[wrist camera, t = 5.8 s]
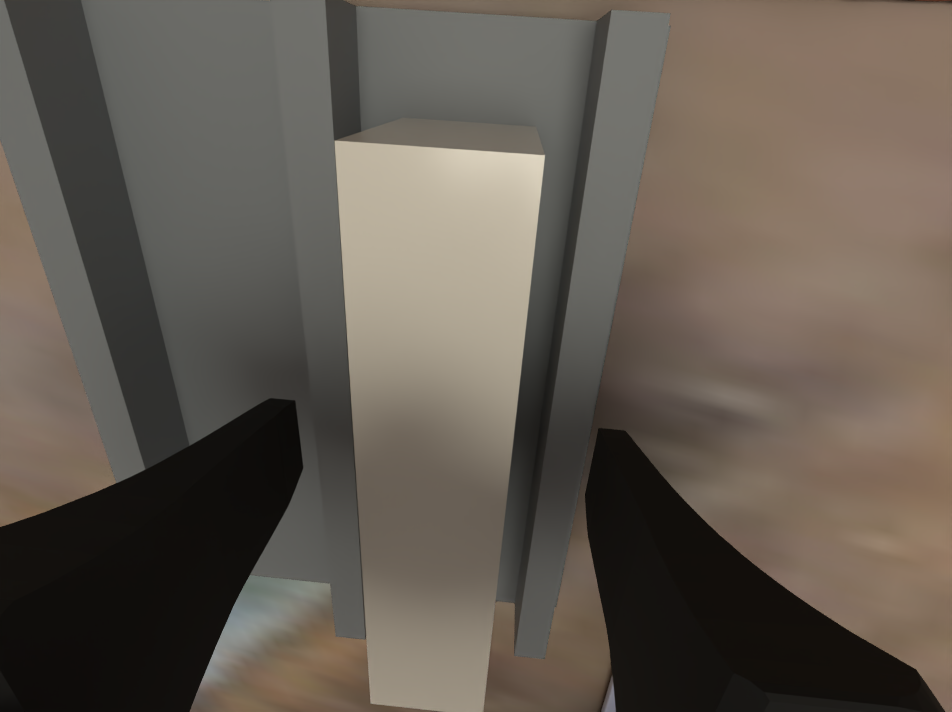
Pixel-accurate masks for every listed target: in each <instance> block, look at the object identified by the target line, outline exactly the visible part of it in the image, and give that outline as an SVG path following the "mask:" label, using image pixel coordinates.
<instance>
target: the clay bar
mask: <svg viewBox="0 0 952 712" xmlns="http://www.w3.org/2000/svg"><path fill="white" fill-rule="evenodd" d="M335 156H336V172H337V188H338V203H339V219H340V234H341V250H342V265H343V281H344V296H345V312H346V328H347V343H348V359H349V374H350V390H351V405H352V421H353V437H354V452H355V468H356V483H357V499H358V514H359V530H360V545H361V561H362V577H363V592H364V608H365V623H366V639H367V654H368V670H369V686H370V701H371V704H379V705H388V706H397V707H406V708H415V709H424V710H433V711H442V712H483V708H484V699H485V691H486V682H487V673H488V664H489V655H490V646H491V637H492V628H493V619H494V610H495V601H496V592H497V583H498V574H499V565H500V556H501V547H502V538H503V529H504V520H505V511H506V502H507V493H508V484H509V475H510V466H511V457H512V448H513V439H514V430H515V421H516V412H517V403H518V394H519V385H520V376H521V367H522V358H523V349H524V340H525V331H526V322H527V313H528V304H529V295H530V286H531V277H532V268H533V259H534V250H535V241H536V232H537V223H538V214H539V205H540V196H541V187H542V178H543V169H544V160H545V154H544V150H543V147H542V144H541V141H540V138H539V135H538V131H537V128H536V127H534V126H519V125H504V124H490V123H475V122H460V121H445V120H431V119H416V118H401V119H398V120H395V121H392V122H389V123H386V124H383V125H380V126H377V127H374V128H371V129H368V130H365V131H362V132H359V133H356V134H353V135H350V136H347V137H344V138H341V139H338V140H335Z"/></svg>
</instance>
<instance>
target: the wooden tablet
mask: <svg viewBox="0 0 952 712" xmlns="http://www.w3.org/2000/svg"><path fill="white" fill-rule="evenodd" d="M917 1H952V0H917Z"/></svg>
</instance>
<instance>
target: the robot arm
mask: <svg viewBox="0 0 952 712" xmlns="http://www.w3.org/2000/svg"><path fill="white" fill-rule="evenodd" d="M302 470H303V460H302V452H301V443H300V435H299V427H298V419H297V410H296V402H295V400H286V399H275V398H270V399H268V400H266V401H264V402H262V403H260V404H258V405H257V406H255V407H253V408H252V409H250V410H248V411H247V412H245V413H243V414H242V415H240V416H238V417H237V418H235V419H234V420H232V421H230V422H229V423H227V424H225V425H224V426H222V427H220V428H219V429H217V430H215V431H214V432H212V433H210V434H209V435H207V436H205V437H204V438H202V439H200V440H199V441H197V442H195V443H193V444H192V445H190V446H188V447H186V448H184V449H183V450H181V451H179V452H177V453H175V454H174V455H172V456H170V457H168V458H166V459H164V460H163V461H161V462H159V463H157V464H155V465H153V466H151V467H149V468H147V469H145V470H143V471H141V472H139V473H137V474H135V475H133V476H131V477H129V478H127V479H125V480H122V481H120V482H118V483H116V484H114V485H111V486H109V487H107V488H105V489H102V490H100V491H98V492H95V493H93V494H90V495H88V496H85V497H82V498H80V499H77V500H75V501H72V502H70V503H67V504H65V505H62V506H59V507H57V508H54V509H52V510H49V511H47V512H44V513H41V514H38V515H35V516H32V517H29V518H26V519H24V520H21V521H18V522H15V523H12V524H9V525H5V526H2V527H0V712H189V711H190V709H191V706H192V704H193V701H194V698H195V696H196V693H197V691H198V688H199V686H200V683H201V681H202V678H203V676H204V674H205V671H206V669H207V666H208V664H209V661H210V659H211V657H212V654H213V652H214V649H215V647H216V645H217V642H218V640H219V638H220V635H221V633H222V631H223V629H224V626H225V624H226V622H227V619H228V617H229V615H230V613H231V610H232V608H233V606H234V604H235V602H236V600H237V598H238V596H239V594H240V592H241V590H242V588H243V586H244V584H245V583H246V581H247V579H248V577H249V576H250V574H251V572H252V570H253V568H254V567H255V565H256V563H257V561H258V560H259V558H260V556H261V554H262V553H263V551H264V549H265V547H266V545H267V544H268V542H269V540H270V538H271V537H272V535H273V533H274V531H275V530H276V528H277V526H278V524H279V522H280V520H281V519H282V517H283V515H284V513H285V511H286V510H287V508H288V506H289V504H290V501H291V499H292V496H293V494H294V492H295V489H296V486H297V484H298V481H299V478H300V476H301V473H302ZM585 503H586V518H587V530H588V538H589V543H590V548H591V553H592V558H593V563H594V568H595V573H596V578H597V583H598V588H599V593H600V598H601V603H602V608H603V613H604V617H605V622H606V628H607V634H608V640H609V647H610V657H611V666H612V677H611V680H610V684H609V687H608V690H607V694H606V697H605V700H604V704H603V707H602V710H601V712H945V711H944V709H943V708H942V706H941V705H940V703H939V702H938V700H937V699H936V697H935V696H934V694H933V693H932V691H931V690H930V689H929V687H928V686H927V684H926V683H925V681H924V680H923V678H922V677H921V676H920V674H919V673H918V672H917V670H916V669H914V668H912V667H911V666H909V665H907V664H905V663H904V662H902V661H900V660H899V659H897V658H895V657H893V656H892V655H890V654H888V653H886V652H885V651H883V650H881V649H879V648H878V647H876V646H874V645H873V644H871V643H869V642H867V641H866V640H864V639H862V638H860V637H859V636H857V635H855V634H853V633H852V632H850V631H849V630H847V629H845V628H844V627H842V626H841V625H839V624H838V623H836V622H834V621H833V620H831V619H830V618H828V617H827V616H825V615H824V614H822V613H821V612H819V611H818V610H816V609H815V608H813V607H811V606H810V605H809V604H807V603H806V602H804V601H803V600H801V599H800V598H798V597H797V596H796V595H794V594H793V593H791V592H790V591H788V590H787V589H786V588H784V587H783V586H782V585H780V584H779V583H778V582H776V581H775V580H774V579H772V578H771V577H770V576H768V575H767V574H766V573H764V572H763V571H762V570H760V569H759V568H758V567H757V566H755V565H754V564H753V563H752V562H750V561H749V560H748V559H747V558H745V557H744V556H743V555H742V554H741V553H740V552H738V551H737V550H736V549H735V548H734V547H733V546H731V545H730V544H729V543H728V542H727V541H726V540H725V539H723V538H722V537H721V536H720V535H719V534H718V533H717V532H716V531H715V530H713V529H712V528H711V527H710V526H709V525H708V524H707V523H706V522H705V521H704V520H703V519H702V518H701V517H700V516H699V515H698V514H697V513H696V512H695V511H694V510H693V509H692V508H691V507H690V506H689V505H688V504H687V503H686V502H685V501H684V500H683V498H682V497H681V496H680V495H679V494H678V493H677V492H676V491H675V490H674V489H673V488H672V486H671V485H670V484H669V483H668V482H667V481H666V480H665V478H664V477H663V476H662V475H661V474H660V473H659V471H658V470H657V469H656V468H655V467H654V465H653V464H652V463H651V462H650V461H649V459H648V458H647V457H646V456H645V454H644V453H643V452H642V451H641V449H640V448H639V447H638V446H637V444H636V443H635V442H634V441H633V440H632V438H631V437H630V436H629V435H628V433H627V432H626V431H624V430H613V429H602V428H599V429H598V434H597V439H596V444H595V449H594V454H593V459H592V464H591V468H590V473H589V478H588V483H587V488H586V493H585Z"/></svg>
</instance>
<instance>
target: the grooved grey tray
mask: <svg viewBox="0 0 952 712" xmlns="http://www.w3.org/2000/svg"><path fill="white" fill-rule="evenodd" d="M670 14H671V13H655V12H638V11H622V10H611V11H609V12H608V13H607V14H606V15H604V16H603V17H602V18H600V19H599V20H598V21H587V20H571V19H555V18H539V17H523V16H507V15H491V14H474V13H458V12H442V11H426V10H410V9H394V8H378V7H362V6H355V5H352V4H350V3H348V2H345V1H343V0H270V1H265V0H0V141H1V143H2V146H3V149H4V152H5V155H6V158H7V161H8V164H9V167H10V170H11V173H12V176H13V179H14V182H15V185H16V188H17V191H18V194H19V197H20V200H21V203H22V205H23V208H24V211H25V214H26V217H27V220H28V223H29V226H30V229H31V232H32V235H33V238H34V241H35V244H36V247H37V250H38V253H39V256H40V259H41V262H42V265H43V267H44V270H45V273H46V276H47V279H48V282H49V285H50V288H51V291H52V294H53V297H54V300H55V303H56V306H57V309H58V312H59V315H60V318H61V321H62V324H63V327H64V329H65V332H66V335H67V338H68V341H69V344H70V347H71V350H72V353H73V356H74V359H75V362H76V365H77V368H78V371H79V374H80V377H81V380H82V383H83V386H84V389H85V391H86V394H87V397H88V400H89V403H90V406H91V409H92V412H93V415H94V418H95V421H96V424H97V427H98V430H99V433H100V436H101V439H102V442H103V445H104V448H105V451H106V453H107V456H108V459H109V462H110V465H111V468H112V471H113V474H114V477H115V480H116V483H118V482H120V481H122V480H125V479H127V478H129V477H131V476H133V475H135V474H137V473H139V472H141V471H143V470H145V469H147V468H149V467H151V466H153V465H155V464H157V463H159V462H161V461H163V460H164V459H166V458H168V457H170V456H172V455H174V454H175V453H177V452H179V451H181V450H183V449H184V448H186V447H188V446H190V445H192V444H193V443H195V442H197V441H199V440H200V439H202V438H204V437H205V436H207V435H209V434H210V433H212V432H214V431H215V430H217V429H219V428H220V427H222V426H224V425H225V424H227V423H229V422H230V421H232V420H234V419H235V418H237V417H238V416H240V415H242V414H243V413H245V412H247V411H248V410H250V409H252V408H253V407H255V406H257V405H258V404H260V403H262V402H264V401H266V400H268V399H270V398H275V399H286V400H295V402H296V410H297V419H298V427H299V435H300V443H301V452H302V460H303V470H302V473H301V476H300V478H299V481H298V484H297V486H296V489H295V492H294V494H293V496H292V499H291V501H290V504H289V506H288V508H287V510H286V511H285V513H284V515H283V517H282V519H281V520H280V522H279V524H278V526H277V528H276V530H275V531H274V533H273V535H272V537H271V538H270V540H269V542H268V544H267V545H266V547H265V549H264V551H263V553H262V554H261V556H260V558H259V560H258V561H257V563H256V565H255V567H254V568H253V570H252V572H251V574H250V575H254V576H264V577H273V578H283V579H292V580H302V581H311V582H321V583H330V585H331V594H332V604H333V614H334V623H335V633H336V636H337V637H346V638H355V639H364V640H365V639H366V623H365V608H364V592H363V577H362V561H361V545H360V530H359V514H358V499H357V483H356V468H355V452H354V437H353V421H352V405H351V390H350V374H349V359H348V343H347V328H346V312H345V296H344V281H343V265H342V250H341V234H340V219H339V203H338V188H337V172H336V156H335V140H338V139H341V138H344V137H347V136H350V135H353V134H356V133H359V132H362V131H365V130H368V129H371V128H374V127H377V126H380V125H383V124H386V123H389V122H392V121H395V120H398V119H401V118H416V119H431V120H445V121H460V122H475V123H490V124H504V125H519V126H534V127H536V128H537V131H538V135H539V138H540V141H541V144H542V147H543V150H544V154H545V160H544V169H543V178H542V187H541V196H540V205H539V214H538V223H537V232H536V241H535V250H534V259H533V268H532V277H531V286H530V295H529V304H528V313H527V322H526V331H525V340H524V349H523V358H522V367H521V376H520V385H519V394H518V403H517V412H516V421H515V430H514V439H513V448H512V457H511V466H510V475H509V484H508V493H507V502H506V511H505V520H504V529H503V538H502V547H501V556H500V565H499V574H498V583H497V592H496V601H502V602H511V603H515V640H514V656H520V657H529V658H539V659H545V654H546V649H547V644H548V639H549V634H550V629H551V623H552V618H553V613H554V608H555V607H556V605H557V600H558V595H559V590H560V585H561V580H562V575H563V570H564V565H565V559H566V554H567V549H568V544H569V539H570V534H571V529H572V524H573V519H574V514H575V509H576V504H577V499H578V494H579V488H580V483H581V478H582V473H583V468H584V463H585V458H586V453H587V448H588V443H589V438H590V433H591V428H592V423H593V417H594V412H595V407H596V402H597V397H598V392H599V387H600V382H601V377H602V372H603V367H604V362H605V357H606V351H607V346H608V341H609V336H610V331H611V326H612V321H613V316H614V311H615V306H616V301H617V296H618V291H619V286H620V280H621V275H622V270H623V265H624V260H625V255H626V250H627V245H628V240H629V235H630V230H631V225H632V220H633V214H634V209H635V204H636V199H637V194H638V189H639V184H640V179H641V174H642V169H643V164H644V159H645V154H646V149H647V143H648V138H649V133H650V128H651V123H652V118H653V113H654V108H655V103H656V98H657V93H658V88H659V83H660V77H661V72H662V67H663V62H664V57H665V52H666V47H667V42H668V37H669V32H670V27H671V26H668V24H669V19H670Z"/></svg>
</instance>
